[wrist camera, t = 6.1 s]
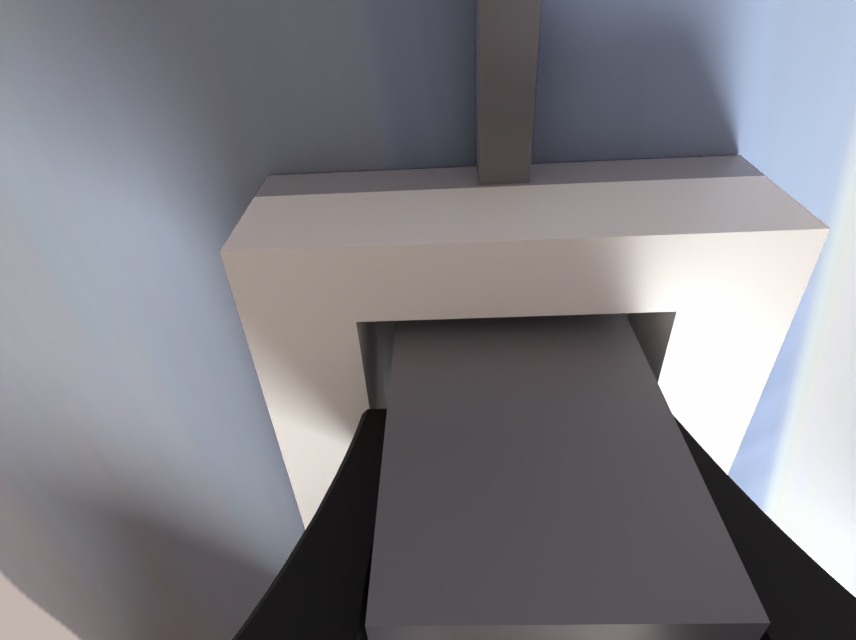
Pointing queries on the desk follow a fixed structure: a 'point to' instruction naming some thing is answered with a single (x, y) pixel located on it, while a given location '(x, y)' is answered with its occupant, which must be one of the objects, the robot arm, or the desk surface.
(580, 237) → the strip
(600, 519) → the plug
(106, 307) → the desk surface
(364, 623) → the robot arm
